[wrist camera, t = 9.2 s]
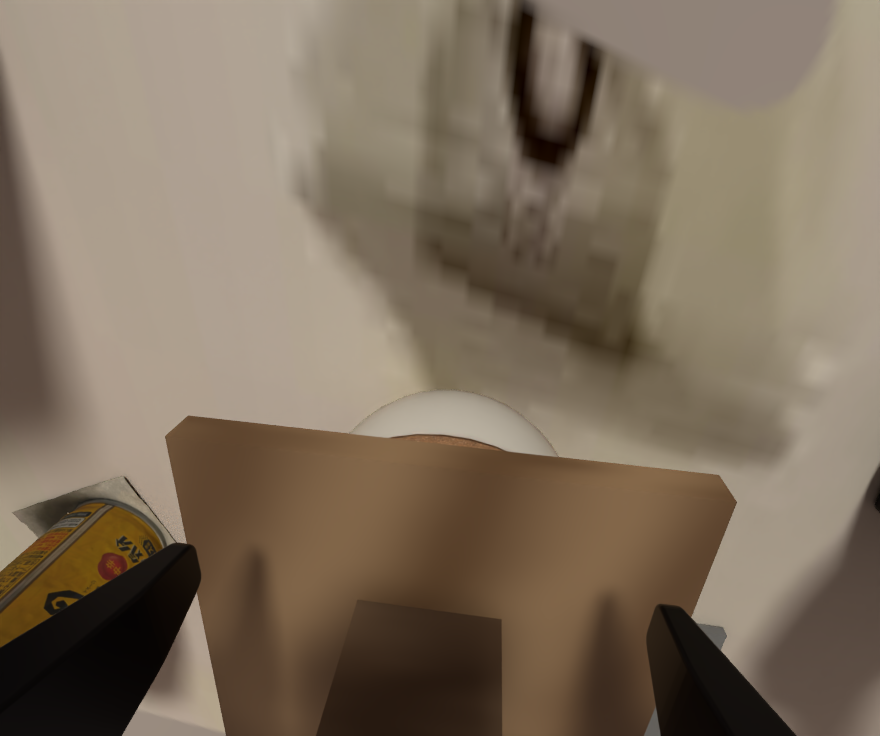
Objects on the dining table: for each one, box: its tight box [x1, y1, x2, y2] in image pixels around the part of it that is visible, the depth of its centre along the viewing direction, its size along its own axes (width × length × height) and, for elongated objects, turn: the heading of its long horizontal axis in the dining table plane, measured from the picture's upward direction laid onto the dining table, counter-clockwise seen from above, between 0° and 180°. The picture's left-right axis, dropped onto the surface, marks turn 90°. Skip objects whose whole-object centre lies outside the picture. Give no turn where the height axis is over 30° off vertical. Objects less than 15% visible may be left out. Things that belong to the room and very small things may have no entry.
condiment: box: [0, 476, 176, 647], centre depth 24 cm, size 7×8×12 cm
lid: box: [165, 416, 737, 736], centre depth 13 cm, size 14×14×4 cm
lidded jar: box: [349, 390, 559, 457], centre depth 20 cm, size 11×11×9 cm
